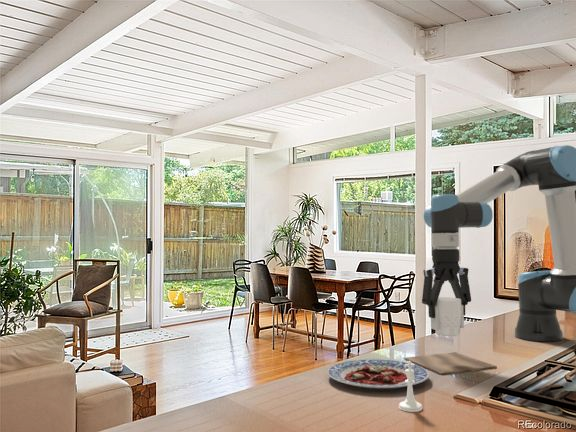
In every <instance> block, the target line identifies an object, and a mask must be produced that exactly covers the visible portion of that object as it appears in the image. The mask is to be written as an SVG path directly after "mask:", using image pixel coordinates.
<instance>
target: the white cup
mask: <svg viewBox="0 0 576 432" xmlns="http://www.w3.org/2000/svg"><path fill="white" fill-rule="evenodd" d="M436 306H437V307H438V309H439V330H435V331H434V332H435V335H437V336H441V337H458V336H461V328H460V325H461V299H459V298H456V297H446V296H445V297H440V296H439V297H438V300H437V303H436Z"/></svg>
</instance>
